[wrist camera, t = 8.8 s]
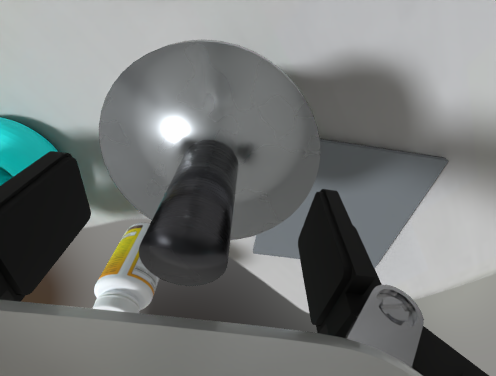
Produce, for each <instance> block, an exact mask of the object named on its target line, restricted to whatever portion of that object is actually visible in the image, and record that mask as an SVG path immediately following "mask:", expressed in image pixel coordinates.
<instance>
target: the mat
mask: <svg viewBox="0 0 496 376" xmlns="http://www.w3.org/2000/svg"><path fill="white" fill-rule="evenodd" d="M447 163H448V160H447V159H446V158H442V157H436V156H429V155H422V154H416V153H409V152H403V151H396V150H390V149H383V148H376V147H370V146H363V145H357V144H350V143H344V142H337V141H330V140H324V139H320V162H319V169H318V172H317V176H316V179H315V182H314V184H313V187H312V189H311V191H310V192H309V194H308V196H307V197H306V199H305V200H304V202H303V203H302V204H301V205H300V207H299V208H298V209H297V210H296V211H295V212H294V213H293V214H292V215H291V216H290V217H288V218H287V219H286V220H284V221H283V222H282V223H280V224H278V225H277V226H275V227H273V228H272V229H269V230H267V231H265V232H263V233H260V234H257V236H256V240H255V244H254V248H253V253H254V254H263V255H271V256H279V257H288V258H296V259H300V255H299V249H298V238H299V235H300V233H301V230H302V228H303V225H304V222H305V220H306V217H307V214H308V212H309V209H310V207H311V204H312V201H313V199H314V196H315V194H316V192H320V191H321V190H322V189H328V190H335V191H337V192H338V193H339V195H340V198H341V200H342V202H343V204H344V207H345V209H346V211H347V213H348V216H349V218H350V220H351V222H352V225H353V226H354V227H355V228H356V229H357V231H358V234H359V236H360V238H361V240H362V242H363V245H364V247H365V249H366V251H367V254H368V256H369V258H370V260H371V262H372V265H373V267H374V268H375V267H376V266H377V264H378V263H379V261H380V260H381V258H382V257H383V255H384V254H385V253H386V251H387V250H388V248H389V247H390V245H391V244H392V242H393V241H394V239H395V238H396V237H397V235H398V234H399V232H400V231H401V229H402V228H403V226H404V225H405V224H406V222H407V221H408V219H409V218H410V216H411V215H412V213H413V212H414V210H415V209H416V208H417V206H418V205H419V203H420V202H421V200H422V199H423V197H424V196H425V195H426V193H427V192H428V190H429V189H430V187H431V186H432V184H433V183H434V181H435V180H436V179H437V177H438V176H439V174H440V173H441V171H442V170H443V168H444V167H445V166H446V164H447Z"/></svg>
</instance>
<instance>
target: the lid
mask: <svg viewBox="0 0 496 376" xmlns="http://www.w3.org/2000/svg"><path fill="white" fill-rule="evenodd" d="M99 140H100V147H101V152H102V156H103V159H104V162H105V165H106V167H107V170H108V172H109V174H110V176H111V178H112V180H113V181H114V183H115V185H116V186H117V188H118V189H119V190H120V191H121V193H122V194H123V195H124V197H125V198H126V199H127V200H128V201H129V202H130V203H131V204H132V205H133V206H134V207H135V208H136V209H138V210H139V211H140V212H141V213H142V214H144V215H145V216H147V217H148V218H149V219H151V220H152V221H151V223H150V225H149V227H148V229H147V231H146V233H145V235H144V238H143V240H142V242H141V244H140V246H139V257H140V260H141V262H142V263H143V265H144V266H145V267H146V269H147V270H148V271H150V272H151V273H152V274H153V275H155V276H157V277H158V278H160V279H162V280H165V281H167V282H170V283H174V284H178V285H185V286H196V285H203V284H207V283H210V282H213V281H214V280H216V279H218V278H219V277H220V276H221V275H222V274H223V273H224V272H225V270H226V268H227V263H228V254H229V245H230V240H234V239H242V238H246V237H251V236H254V235H257V234H260V233H263V232H265V231H267V230H269V229H272V228H273V227H275V226H277V225H278V224H280V223H282V222H283V221H284V220H286V219H287V218H288V217H290V216H291V215H292V214H293V213H294V212H295V211H296V210H297V209H298V208H299V207H300V205H301V204H302V203H303V202H304V200H305V199H306V197H307V196H308V194H309V192H310V191H311V189H312V187H313V184H314V182H315V179H316V176H317V172H318V169H319V162H320V138H319V133H318V128H317V125H316V122H315V119H314V116H313V113H312V111H311V109H310V107H309V106H308V104H307V102H306V100H305V98H304V96H303V94H302V93H301V92H300V90H299V89H298V88H297V86H296V85H295V83H294V82H293V81H292V80H291V79H290V78H289V77H288V76H287V75H286V74H285V73H284V72H283V71H282V70H281V69H280V68H279V67H277V66H276V65H275V64H273V63H272V62H271V61H269V60H268V59H266V58H265V57H263V56H261V55H259V54H257V53H256V52H254V51H252V50H249V49H246V48H244V47H241V46H239V45H235V44H231V43H227V42H222V41H214V40H191V41H183V42H179V43H175V44H170V45H167V46H165V47H162V48H160V49H157V50H155V51H153V52H150V53H148V54H146V55H145V56H143V57H141V58H140V59H138V60H137V61H135V62H133V63H132V64H131V65H130V66H129V67H128V68H127V69H126V70H125V71H123V72H122V73H121V75H120V76H119V77H118V79H117V80H116V81H115V82H114V84H113V85H112V87H111V89H110V91H109V92H108V94H107V96H106V98H105V101H104V104H103V107H102V110H101V116H100V123H99Z"/></svg>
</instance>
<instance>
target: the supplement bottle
mask: <svg viewBox="0 0 496 376" xmlns="http://www.w3.org/2000/svg"><path fill="white" fill-rule="evenodd" d="M149 225H150V223H138V224H135V225H132V226H131V227H129V228H128V230H127V231H126V232H125V234H124V236H123V237H122V239H121V241H120V243H119V244H118V246H117V248H116V250H115V251H114V253H113V255H112V257H111V258H110V260H109V262H108V264H107V266H106V267H105V269H104V271H103V272H102V274H101V276H100V277H99V279H98V281H97V283H96V285H95V289H94V292H95V295H96V297H97V300H96V301H95V304H94V306H93V308H92V309H101V310H111V311H121V312H130V313H139V310H141V309H144V308H145V307H147V306H148V305H149V303H150V302H151V300H152V298H153V295H154V292H155V289H156V286H157V283H158V281H159V278H158V277H157V276H155V275H153V274H152V273H151V272H150V271H148V270H147V269H146V267H145V266H144V265H143V263H142V262H141V260H140V257H139V246H140V244H141V242H142V240H143V238H144V235H145V233H146V231H147V229H148V227H149Z"/></svg>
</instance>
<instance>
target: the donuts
mask: <svg viewBox="0 0 496 376" xmlns="http://www.w3.org/2000/svg"><path fill="white" fill-rule="evenodd" d="M50 151H55V152H58V151H57V149H56V148H55V147H54V146H53V145H52V144H51V143H50V142H49V141H48V140H46V139H45V138H44V137H43V136H41V135H40V134H39V133H37V132H36V131H34V130H32V129H31V128H29V127H27V126H25V125H23V124H21V123H18V122H16V121H13V120H9V119H6V118H1V117H0V186H1V185H2V184H4V183H5V182H7V181H8V180H9V179H11V178H12V177H14V176H15V175H17V174H18V173H19V172H21V171H22V170H24V169H25V168H27V167H28V166H29V165H31V164H32V163H34V162H35V161H37V160H38V159H40V158H41V157H42V156H44V155H45V154H47V153H48V152H50ZM2 168H3V169H2ZM4 169H5V170H6V171H8V172H9V173H10V174H11V175H12V176H11V175H10V174H8V173H7V172H6V171H5V170H4Z"/></svg>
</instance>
